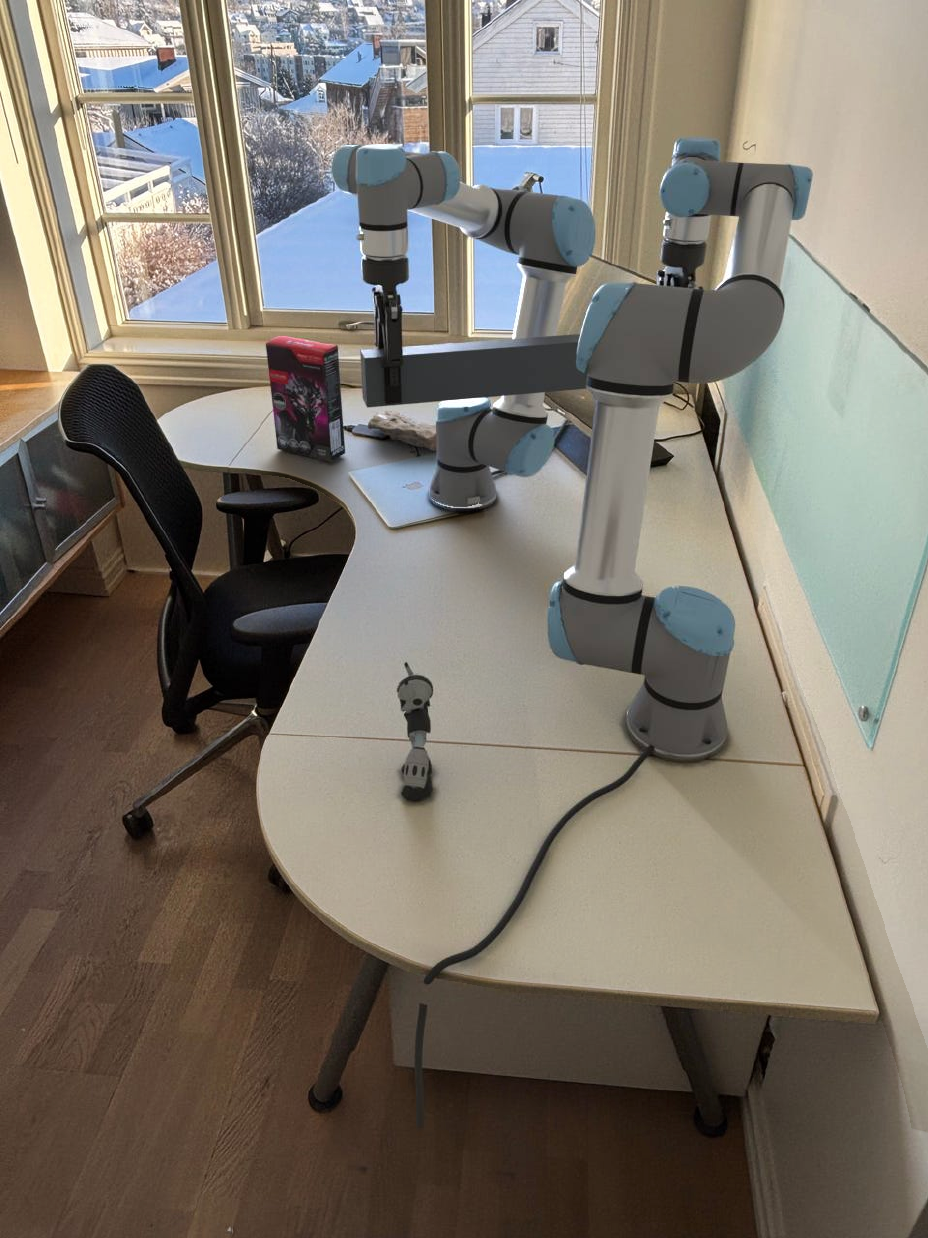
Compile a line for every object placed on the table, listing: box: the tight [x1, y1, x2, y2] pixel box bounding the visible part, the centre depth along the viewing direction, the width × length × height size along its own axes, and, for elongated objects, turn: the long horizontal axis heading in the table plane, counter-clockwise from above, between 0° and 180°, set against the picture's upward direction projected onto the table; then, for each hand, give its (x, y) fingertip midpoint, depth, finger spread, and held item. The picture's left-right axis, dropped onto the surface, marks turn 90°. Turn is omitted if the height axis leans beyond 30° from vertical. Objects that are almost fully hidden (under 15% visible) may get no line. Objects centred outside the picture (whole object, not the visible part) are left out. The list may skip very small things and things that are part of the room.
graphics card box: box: [265, 335, 346, 462], centre depth 222 cm, size 17×7×27 cm, turn 62°
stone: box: [367, 410, 437, 452], centre depth 235 cm, size 21×15×6 cm
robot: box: [396, 661, 434, 803], centre depth 128 cm, size 20×5×20 cm, turn 3°
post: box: [359, 333, 588, 408], centre depth 162 cm, size 61×4×8 cm, turn 105°
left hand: (390, 397), depth 159 cm, fingers closed on post, 4 cm apart
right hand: (666, 373), depth 170 cm, fingers closed on post, 4 cm apart
